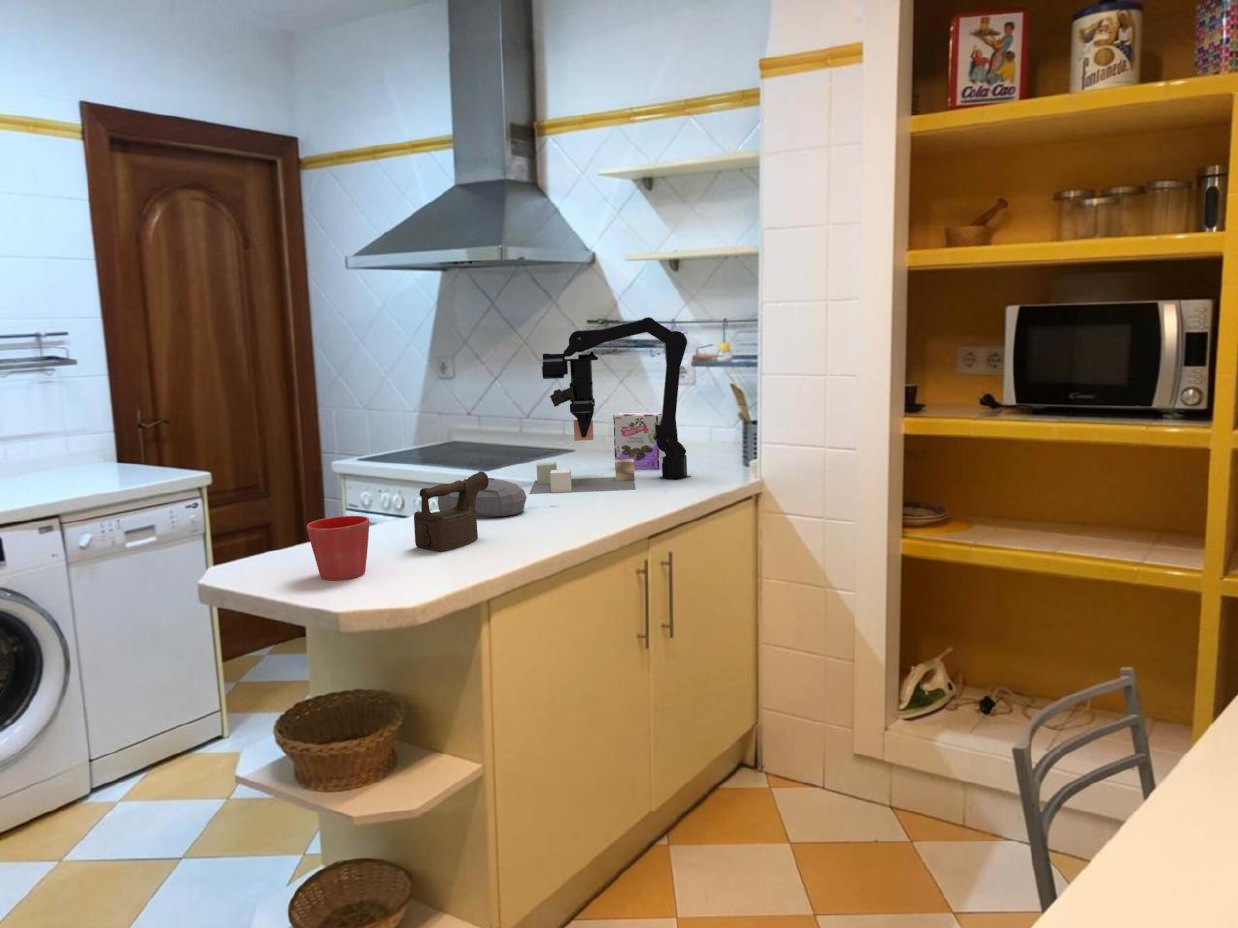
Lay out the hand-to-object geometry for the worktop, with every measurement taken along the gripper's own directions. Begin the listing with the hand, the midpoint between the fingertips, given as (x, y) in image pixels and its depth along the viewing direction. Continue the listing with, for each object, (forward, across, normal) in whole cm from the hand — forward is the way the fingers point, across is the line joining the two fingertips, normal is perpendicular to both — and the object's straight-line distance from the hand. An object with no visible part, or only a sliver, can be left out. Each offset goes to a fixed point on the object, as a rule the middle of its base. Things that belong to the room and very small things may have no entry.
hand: (584, 436), depth 257 cm
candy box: (+13, -19, +15) cm, 28 cm away
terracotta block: (+1, 0, 0) cm, 1 cm away
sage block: (+12, 0, -10) cm, 16 cm away
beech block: (+12, 0, +11) cm, 16 cm away
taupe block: (+12, +14, -6) cm, 19 cm away
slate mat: (+13, +6, 0) cm, 14 cm away
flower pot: (+13, +89, -41) cm, 99 cm away
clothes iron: (+13, +68, -24) cm, 73 cm away
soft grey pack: (+13, +37, -22) cm, 45 cm away
